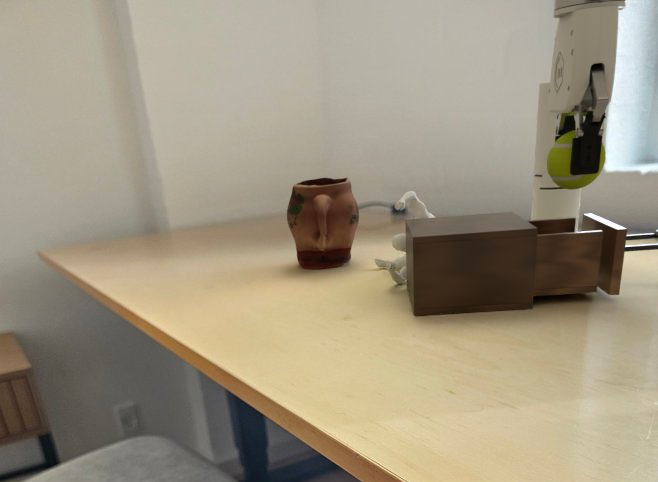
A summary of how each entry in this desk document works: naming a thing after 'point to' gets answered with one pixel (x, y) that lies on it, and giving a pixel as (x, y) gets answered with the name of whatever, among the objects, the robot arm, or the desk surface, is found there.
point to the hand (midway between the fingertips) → (574, 170)
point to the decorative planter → (323, 221)
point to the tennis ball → (568, 164)
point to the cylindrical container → (547, 194)
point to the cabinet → (470, 263)
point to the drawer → (582, 255)
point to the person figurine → (403, 238)
